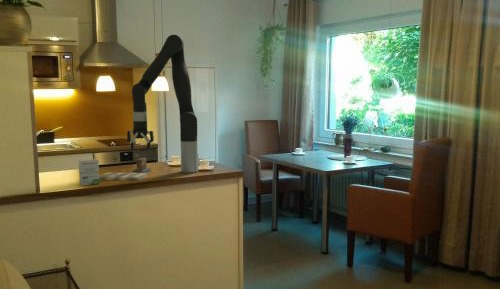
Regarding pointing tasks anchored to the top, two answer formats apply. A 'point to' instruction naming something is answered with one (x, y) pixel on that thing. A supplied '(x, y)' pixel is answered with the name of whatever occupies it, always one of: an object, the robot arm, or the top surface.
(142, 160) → the sanding block
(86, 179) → the ink box
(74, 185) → the top surface
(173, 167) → the top surface
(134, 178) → the birch board
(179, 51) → the robot arm
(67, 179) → the top surface
